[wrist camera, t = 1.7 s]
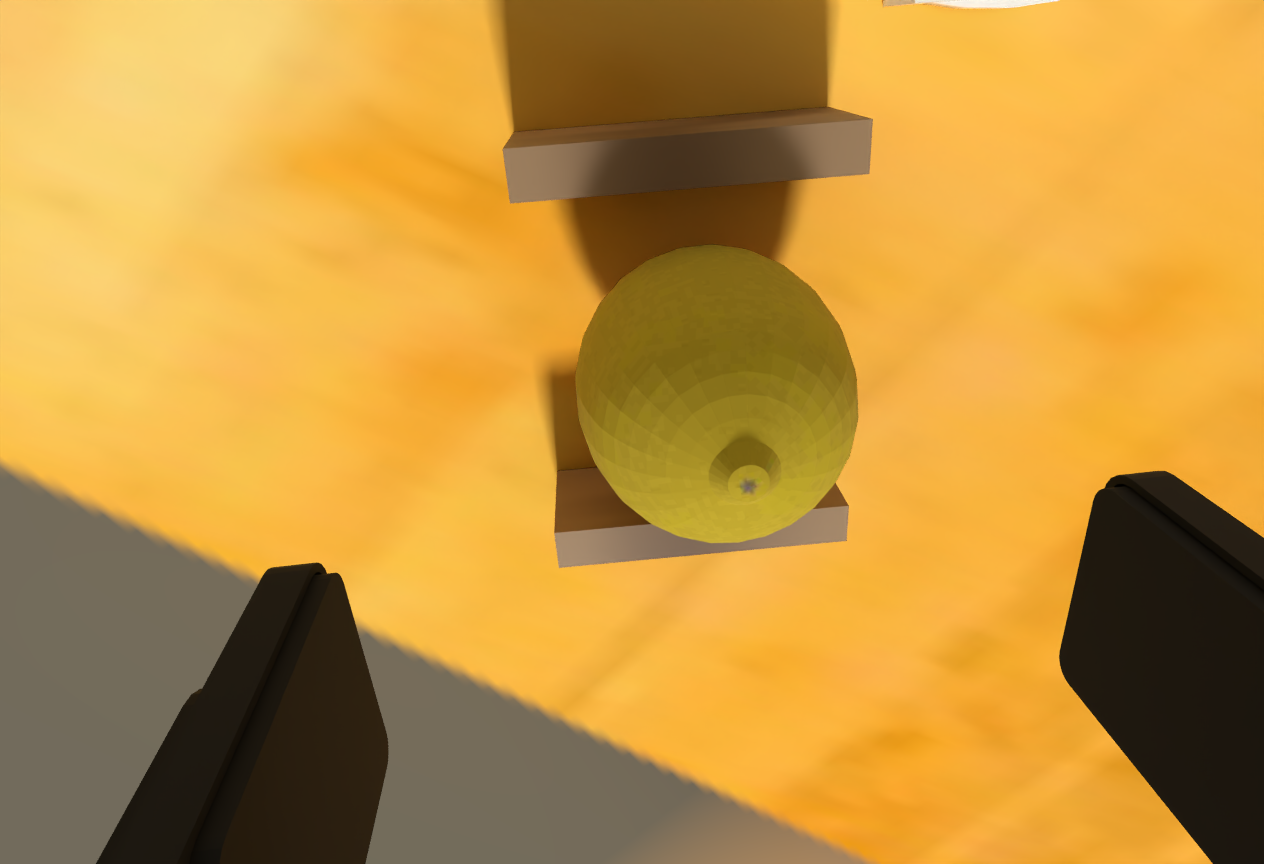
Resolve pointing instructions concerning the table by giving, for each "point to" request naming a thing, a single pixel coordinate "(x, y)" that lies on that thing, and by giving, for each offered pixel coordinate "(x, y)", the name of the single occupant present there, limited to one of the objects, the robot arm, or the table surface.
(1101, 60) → the table surface
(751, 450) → the lemon
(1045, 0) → the saucer
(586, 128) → the rack
